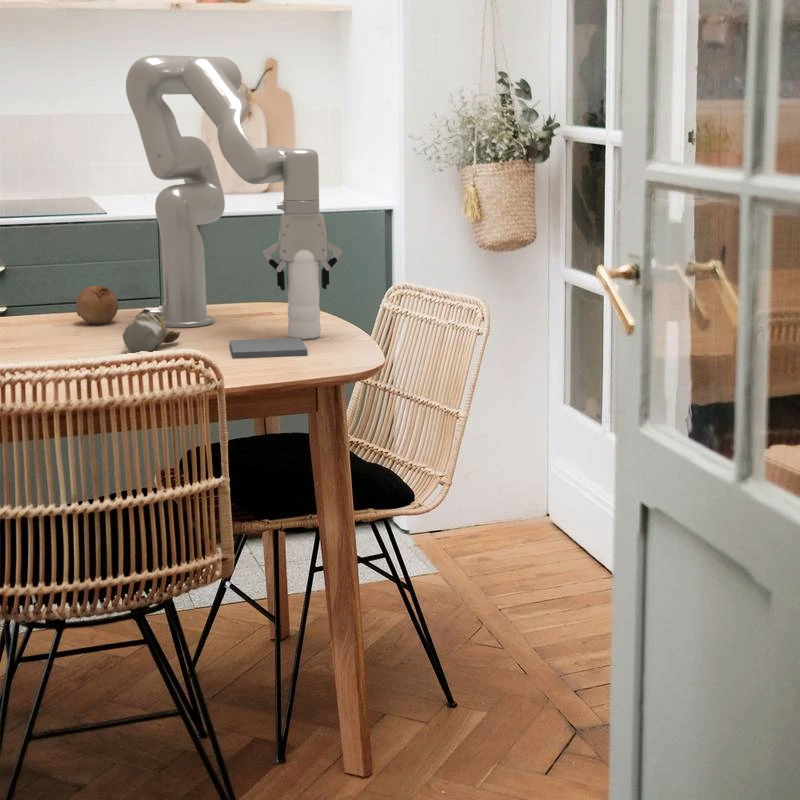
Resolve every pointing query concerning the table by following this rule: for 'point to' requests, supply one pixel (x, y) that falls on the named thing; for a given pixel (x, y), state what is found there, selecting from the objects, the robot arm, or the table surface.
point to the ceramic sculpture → (147, 332)
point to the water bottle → (303, 296)
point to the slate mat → (267, 347)
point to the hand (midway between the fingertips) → (303, 288)
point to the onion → (97, 305)
